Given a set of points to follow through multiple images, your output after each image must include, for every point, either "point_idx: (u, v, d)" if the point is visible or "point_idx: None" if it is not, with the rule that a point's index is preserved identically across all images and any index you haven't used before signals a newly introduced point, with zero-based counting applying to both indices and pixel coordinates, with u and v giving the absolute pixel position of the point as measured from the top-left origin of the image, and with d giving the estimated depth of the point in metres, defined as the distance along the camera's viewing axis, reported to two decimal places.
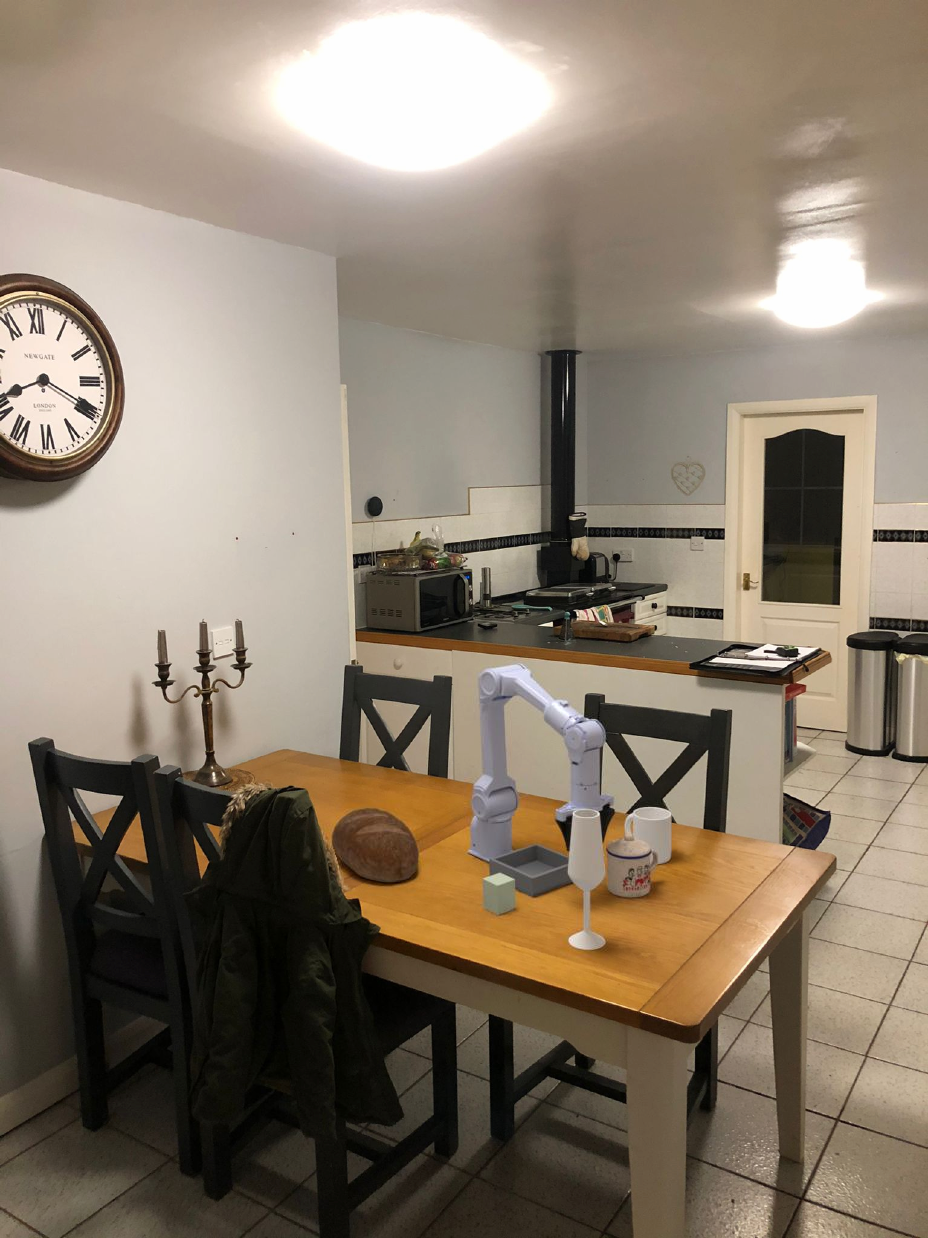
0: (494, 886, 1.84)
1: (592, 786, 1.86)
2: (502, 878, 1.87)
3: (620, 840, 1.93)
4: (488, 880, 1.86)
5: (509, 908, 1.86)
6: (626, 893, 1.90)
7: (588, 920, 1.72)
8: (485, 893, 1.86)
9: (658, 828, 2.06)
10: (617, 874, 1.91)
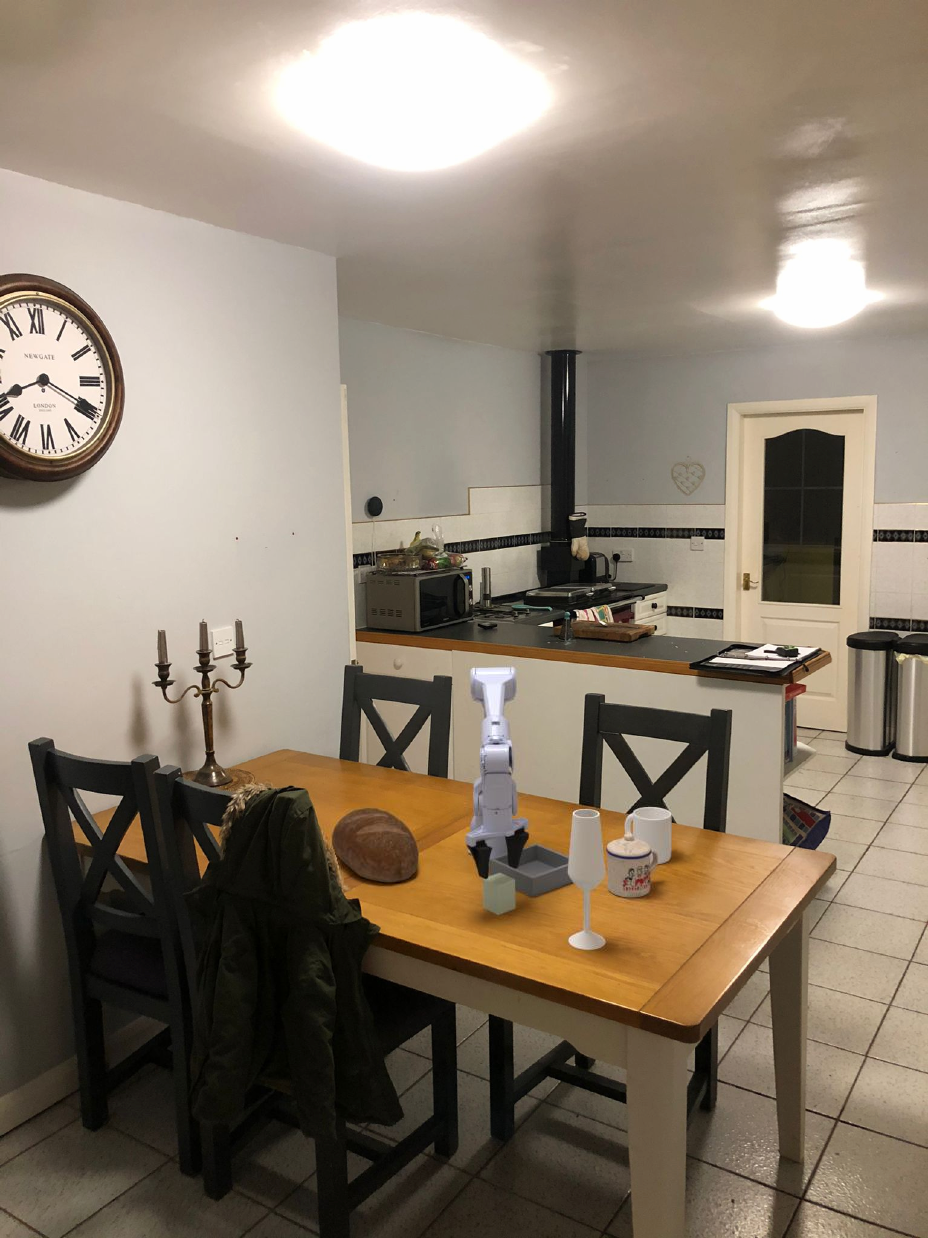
0: (494, 886, 1.84)
1: (503, 810, 1.82)
2: (502, 878, 1.87)
3: (620, 840, 1.93)
4: (488, 880, 1.86)
5: (509, 908, 1.86)
6: (626, 893, 1.90)
7: (588, 920, 1.72)
8: (485, 893, 1.86)
9: (658, 828, 2.06)
10: (617, 874, 1.91)
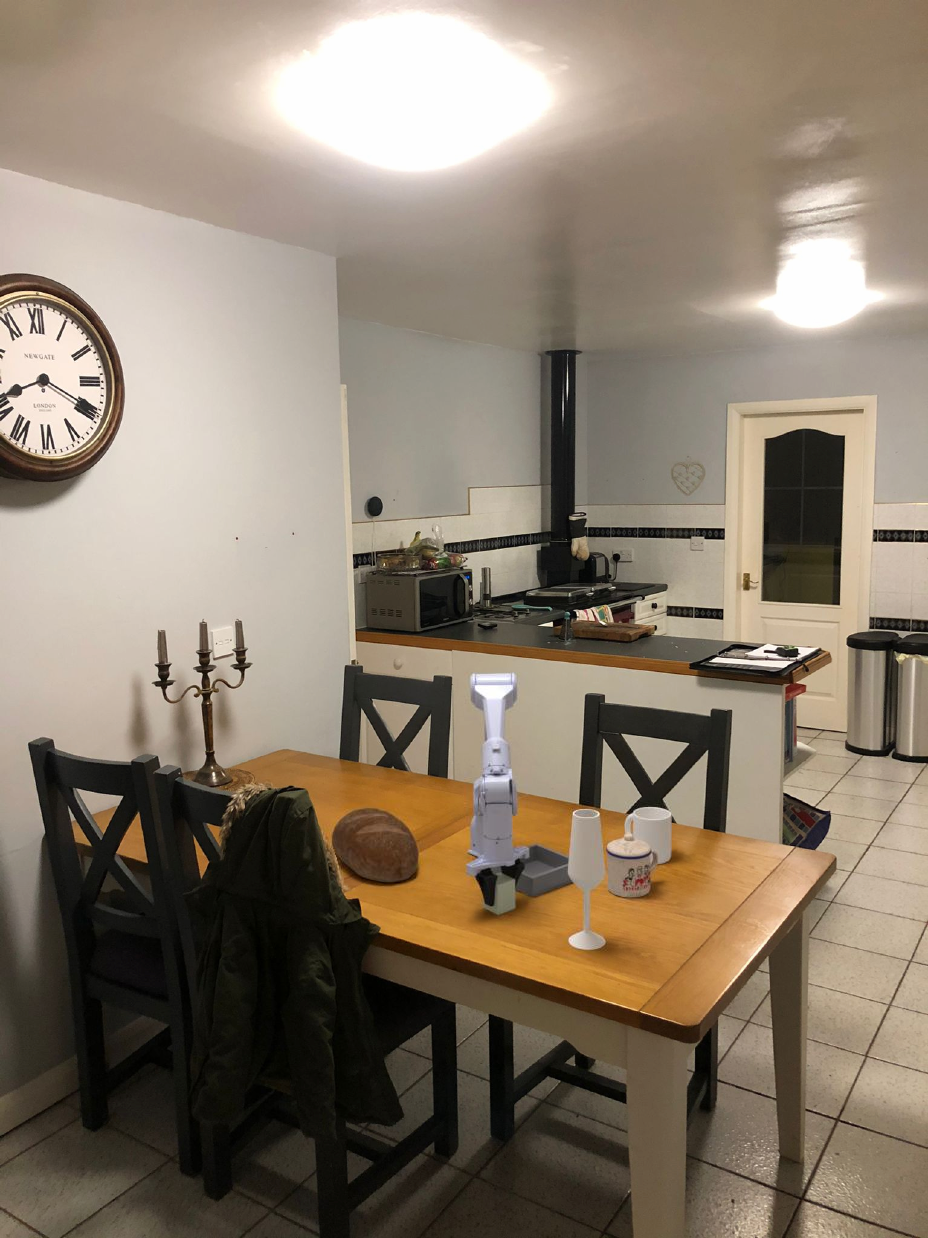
0: None
1: (504, 840, 1.83)
2: (502, 878, 1.87)
3: (620, 840, 1.93)
4: None
5: (509, 908, 1.86)
6: (626, 893, 1.90)
7: (588, 920, 1.72)
8: None
9: (658, 828, 2.06)
10: (617, 874, 1.91)
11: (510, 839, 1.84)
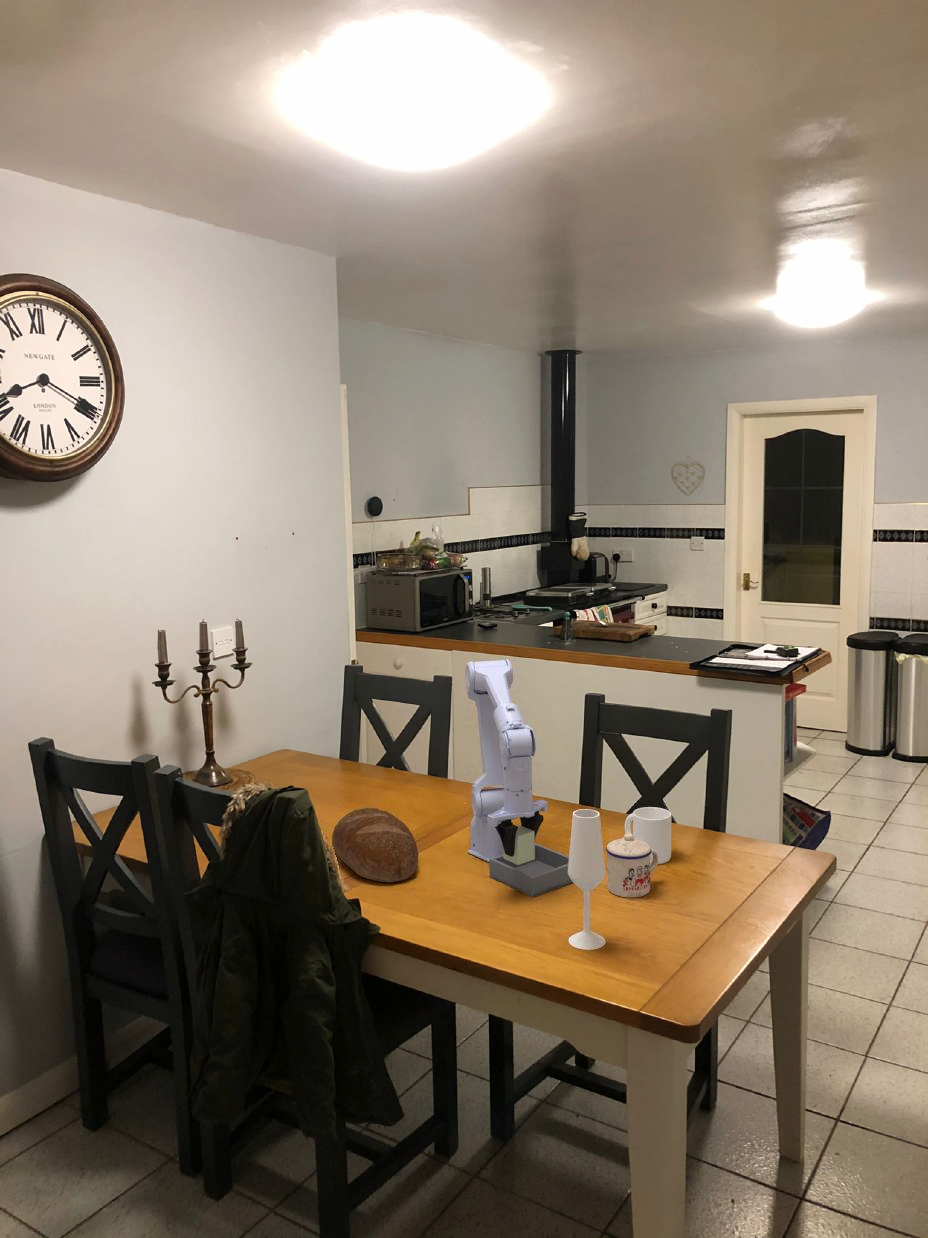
0: None
1: (524, 792, 1.89)
2: (522, 830, 1.93)
3: (620, 840, 1.93)
4: None
5: (529, 858, 1.93)
6: (626, 893, 1.90)
7: (588, 920, 1.72)
8: None
9: (658, 828, 2.06)
10: (617, 874, 1.91)
11: (530, 791, 1.91)
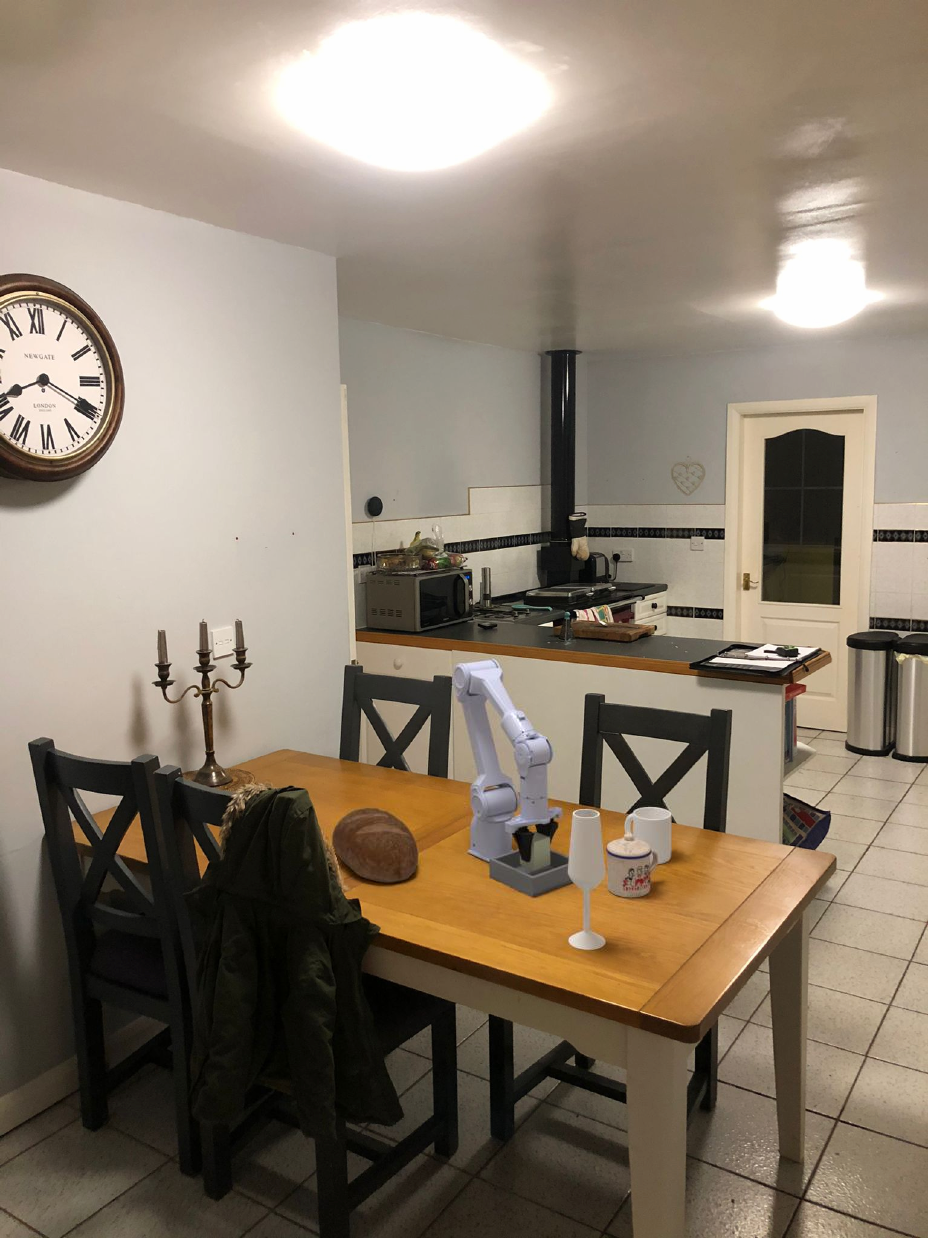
0: None
1: (540, 800, 1.96)
2: (538, 836, 2.00)
3: (620, 840, 1.93)
4: None
5: (544, 864, 1.99)
6: (626, 893, 1.90)
7: (588, 920, 1.72)
8: None
9: (658, 828, 2.06)
10: (617, 874, 1.91)
11: (545, 799, 1.97)
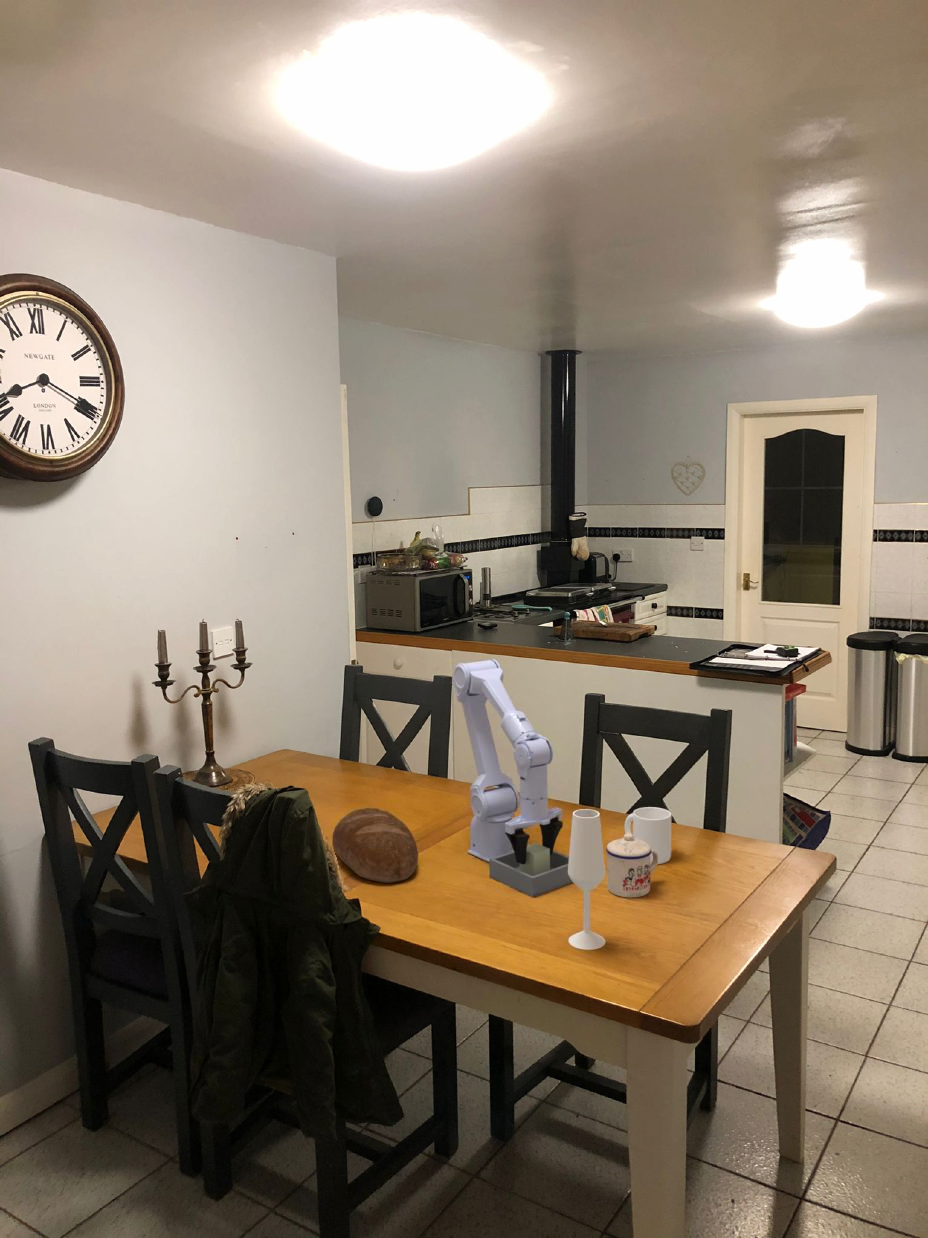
0: (530, 855, 1.98)
1: (540, 800, 1.96)
2: (538, 848, 2.00)
3: (620, 840, 1.93)
4: None
5: None
6: (626, 893, 1.90)
7: (588, 920, 1.72)
8: None
9: (658, 828, 2.06)
10: (617, 874, 1.91)
11: (545, 800, 1.97)
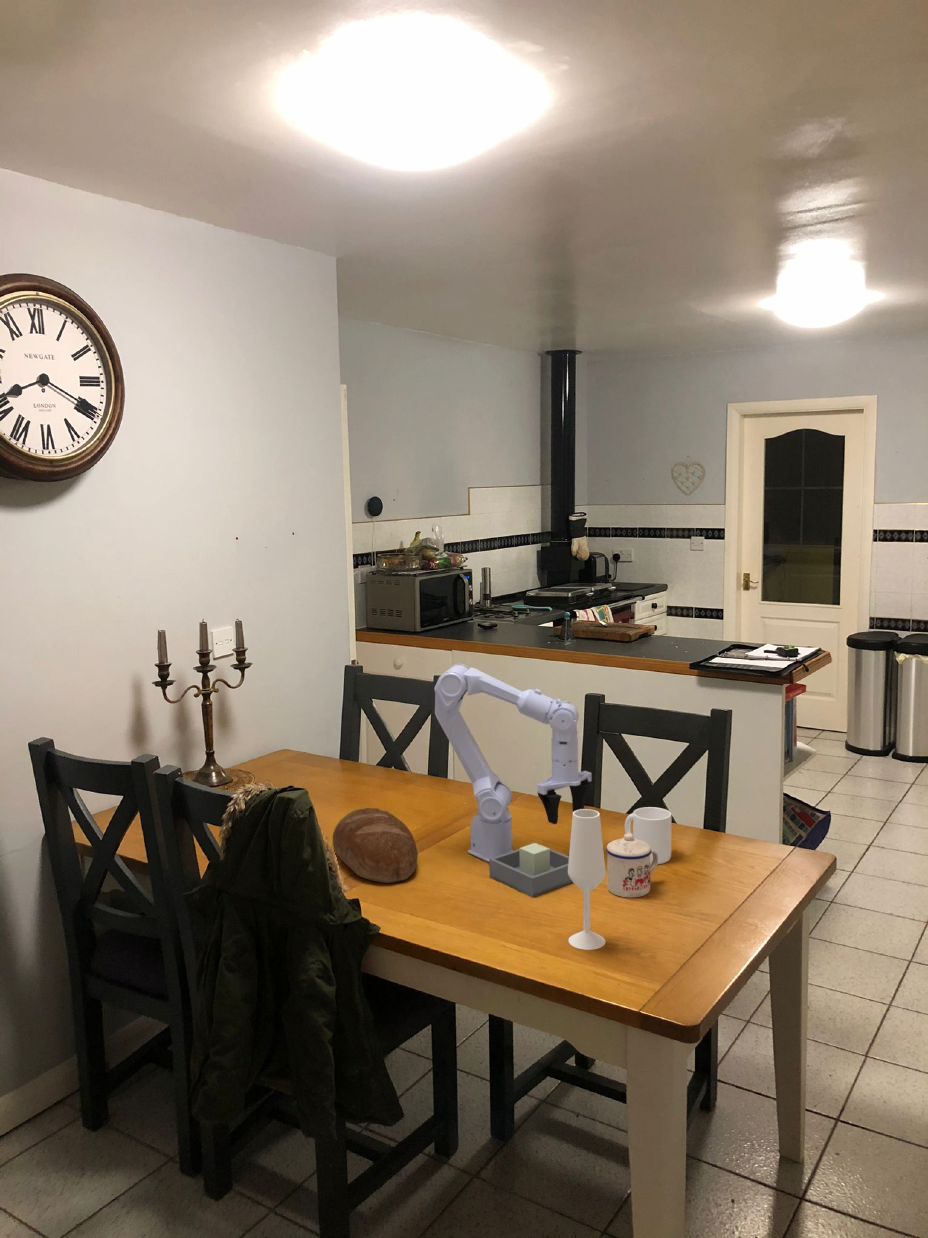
0: (530, 855, 1.98)
1: (571, 763, 2.05)
2: (538, 848, 2.00)
3: (620, 840, 1.93)
4: (525, 849, 2.00)
5: None
6: (626, 893, 1.90)
7: (588, 920, 1.72)
8: (522, 861, 2.00)
9: (658, 828, 2.06)
10: (617, 874, 1.91)
11: (576, 762, 2.06)
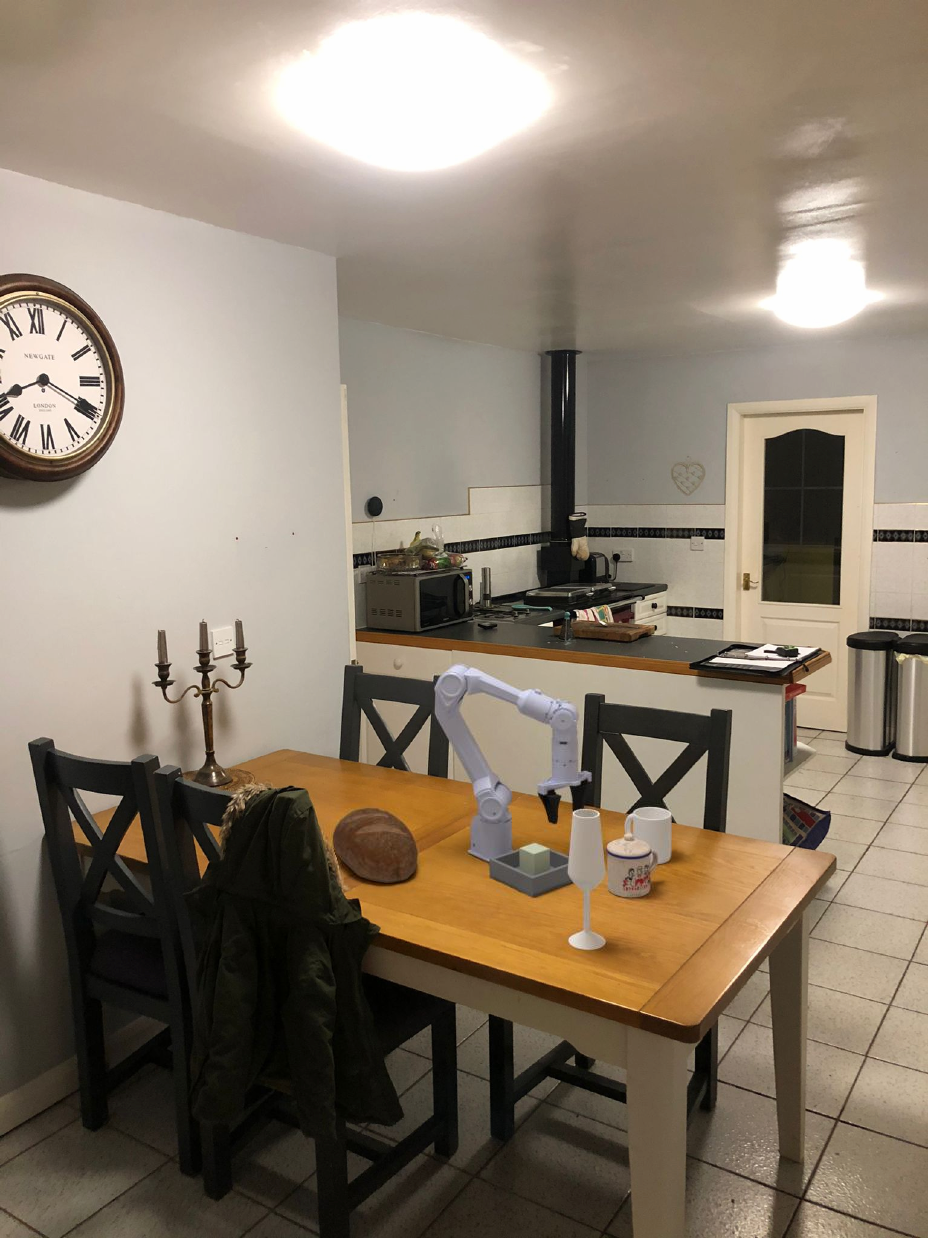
0: (530, 855, 1.98)
1: (571, 763, 2.05)
2: (538, 848, 2.00)
3: (620, 840, 1.93)
4: (525, 849, 2.00)
5: None
6: (626, 893, 1.90)
7: (588, 920, 1.72)
8: (522, 861, 2.00)
9: (658, 828, 2.06)
10: (617, 874, 1.91)
11: (576, 762, 2.06)
